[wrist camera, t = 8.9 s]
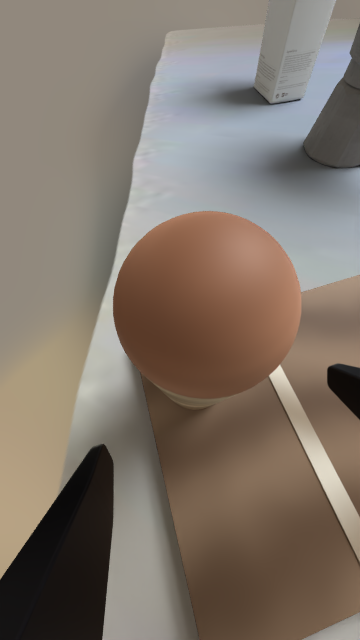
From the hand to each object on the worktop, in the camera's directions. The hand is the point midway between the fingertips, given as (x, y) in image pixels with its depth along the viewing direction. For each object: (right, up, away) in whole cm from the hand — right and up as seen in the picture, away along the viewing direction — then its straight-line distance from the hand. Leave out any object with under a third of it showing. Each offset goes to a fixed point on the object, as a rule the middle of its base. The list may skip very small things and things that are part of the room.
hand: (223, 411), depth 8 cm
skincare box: (+16, +45, +30) cm, 57 cm away
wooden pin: (-1, -1, +8) cm, 8 cm away
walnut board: (+8, -4, +8) cm, 11 cm away
